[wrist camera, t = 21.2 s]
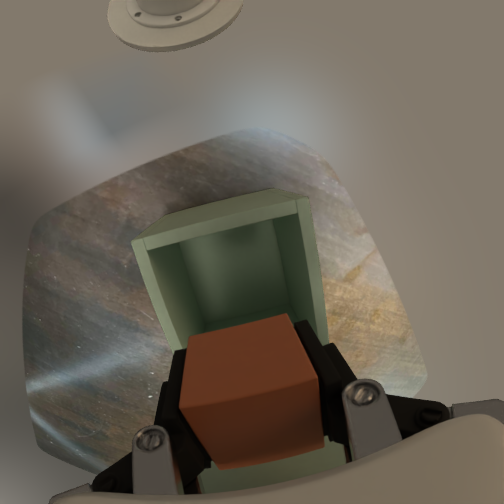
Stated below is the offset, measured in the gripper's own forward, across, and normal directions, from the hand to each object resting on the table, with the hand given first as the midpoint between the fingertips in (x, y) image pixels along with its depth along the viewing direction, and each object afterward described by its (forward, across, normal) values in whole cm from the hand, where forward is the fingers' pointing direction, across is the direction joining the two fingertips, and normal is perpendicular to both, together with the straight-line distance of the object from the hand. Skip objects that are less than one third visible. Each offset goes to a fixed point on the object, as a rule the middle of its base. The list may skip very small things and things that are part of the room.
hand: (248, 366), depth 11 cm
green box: (+20, 0, +2) cm, 20 cm away
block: (0, 0, 0) cm, 0 cm away
